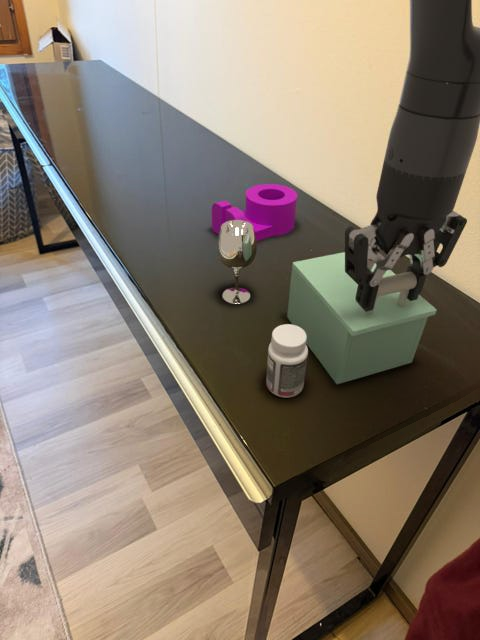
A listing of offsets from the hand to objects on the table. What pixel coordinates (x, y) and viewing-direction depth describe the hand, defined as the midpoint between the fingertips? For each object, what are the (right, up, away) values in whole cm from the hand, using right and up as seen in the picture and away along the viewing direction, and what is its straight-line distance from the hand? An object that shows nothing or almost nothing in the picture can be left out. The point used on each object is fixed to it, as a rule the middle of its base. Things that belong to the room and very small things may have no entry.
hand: (387, 301), depth 54 cm
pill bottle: (-12, -11, +4) cm, 16 cm away
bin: (-2, -5, +11) cm, 12 cm away
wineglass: (-18, +2, +19) cm, 26 cm away
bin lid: (-2, +2, +5) cm, 6 cm away
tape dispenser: (-14, +16, +37) cm, 42 cm away
